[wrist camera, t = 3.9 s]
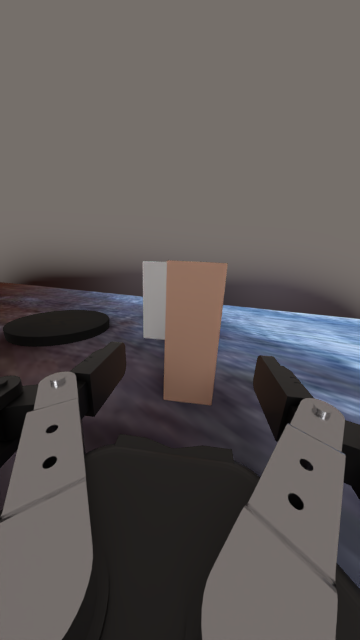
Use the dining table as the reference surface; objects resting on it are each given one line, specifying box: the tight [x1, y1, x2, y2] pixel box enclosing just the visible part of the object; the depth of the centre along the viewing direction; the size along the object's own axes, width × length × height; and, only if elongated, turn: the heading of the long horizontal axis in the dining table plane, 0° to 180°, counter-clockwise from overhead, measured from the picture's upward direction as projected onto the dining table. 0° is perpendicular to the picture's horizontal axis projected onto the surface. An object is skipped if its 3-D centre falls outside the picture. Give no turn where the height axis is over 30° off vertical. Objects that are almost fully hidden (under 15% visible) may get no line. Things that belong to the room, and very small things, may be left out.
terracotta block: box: [163, 260, 227, 405], centre depth 20 cm, size 5×5×14 cm
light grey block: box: [143, 261, 167, 340], centre depth 36 cm, size 5×5×14 cm
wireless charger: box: [3, 310, 109, 346], centre depth 38 cm, size 18×18×2 cm
